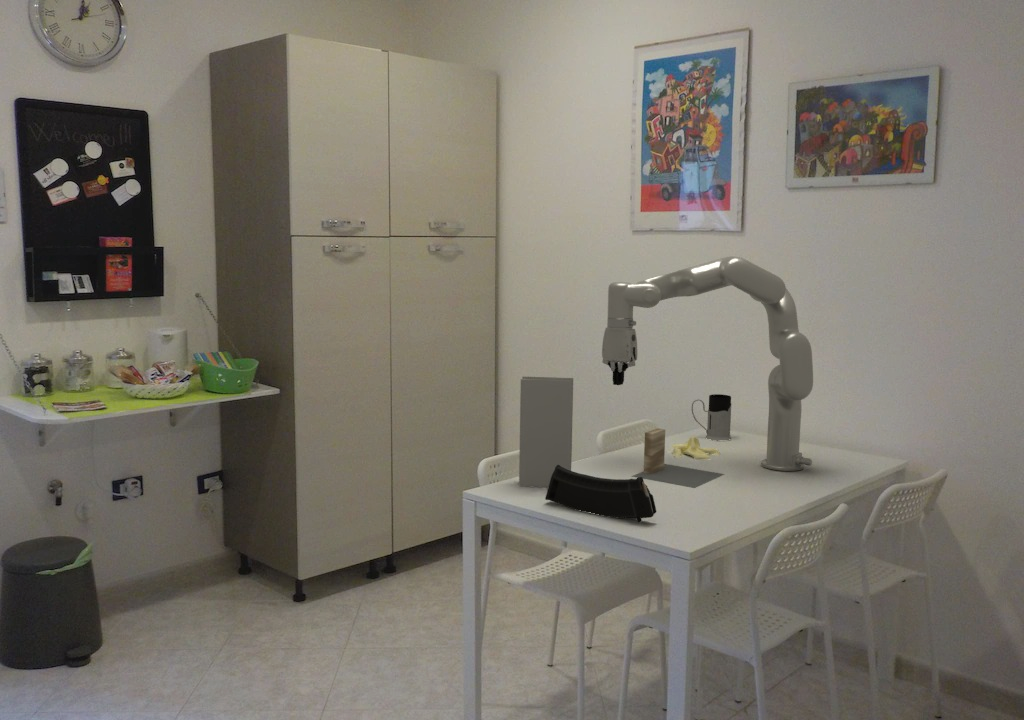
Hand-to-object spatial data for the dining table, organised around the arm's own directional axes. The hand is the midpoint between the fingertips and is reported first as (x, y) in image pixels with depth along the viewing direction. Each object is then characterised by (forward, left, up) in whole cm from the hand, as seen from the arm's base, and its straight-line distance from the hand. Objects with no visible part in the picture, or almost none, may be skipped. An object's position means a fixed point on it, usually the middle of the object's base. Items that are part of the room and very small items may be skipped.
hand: (618, 384), depth 282 cm
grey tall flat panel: (+4, +32, -25) cm, 41 cm away
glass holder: (-5, -56, -25) cm, 62 cm away
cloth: (-10, -30, -26) cm, 41 cm away
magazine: (-22, +46, -25) cm, 57 cm away
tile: (-13, 0, -25) cm, 28 cm away
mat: (-21, 0, -25) cm, 33 cm away
